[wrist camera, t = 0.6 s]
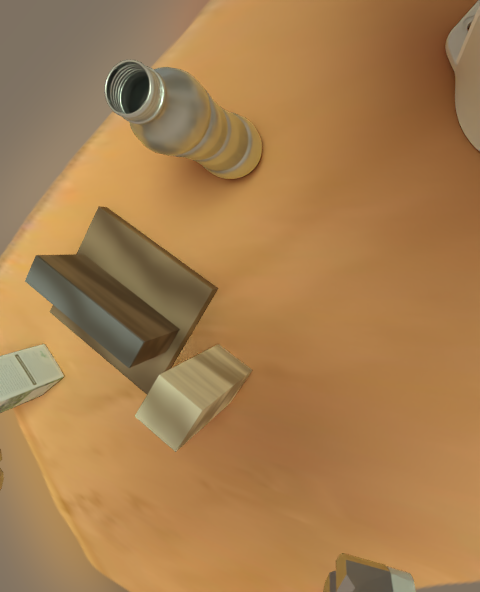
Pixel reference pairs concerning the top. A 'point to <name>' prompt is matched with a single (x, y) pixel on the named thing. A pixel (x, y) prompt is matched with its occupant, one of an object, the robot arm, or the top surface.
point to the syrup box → (26, 375)
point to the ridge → (124, 297)
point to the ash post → (192, 395)
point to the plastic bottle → (182, 118)
